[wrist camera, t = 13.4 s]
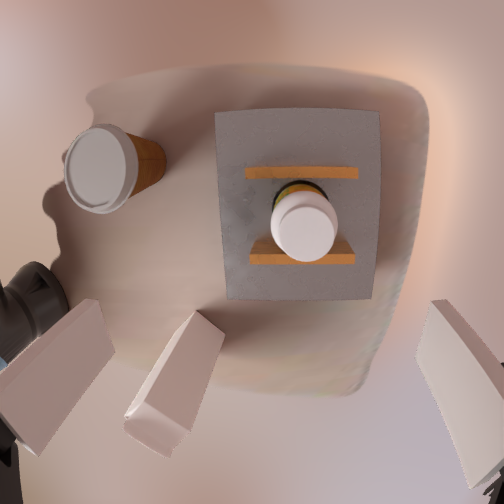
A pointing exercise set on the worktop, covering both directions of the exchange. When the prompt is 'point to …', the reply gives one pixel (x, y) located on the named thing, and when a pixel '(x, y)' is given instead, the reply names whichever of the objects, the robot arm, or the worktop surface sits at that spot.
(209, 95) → the worktop surface
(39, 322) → the robot arm
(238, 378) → the worktop surface
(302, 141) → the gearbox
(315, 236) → the supplement bottle
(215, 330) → the milk
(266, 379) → the worktop surface
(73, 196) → the disposable coffee cup
